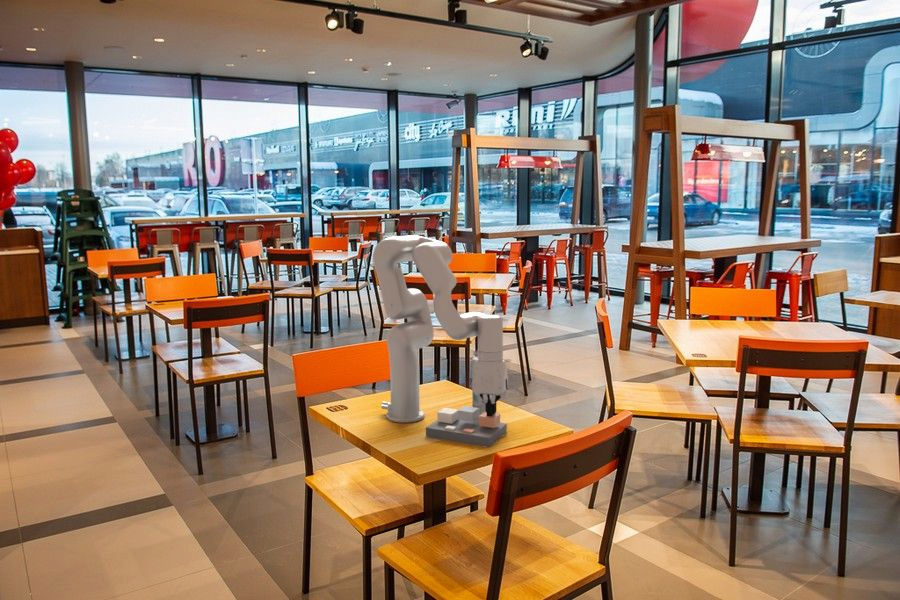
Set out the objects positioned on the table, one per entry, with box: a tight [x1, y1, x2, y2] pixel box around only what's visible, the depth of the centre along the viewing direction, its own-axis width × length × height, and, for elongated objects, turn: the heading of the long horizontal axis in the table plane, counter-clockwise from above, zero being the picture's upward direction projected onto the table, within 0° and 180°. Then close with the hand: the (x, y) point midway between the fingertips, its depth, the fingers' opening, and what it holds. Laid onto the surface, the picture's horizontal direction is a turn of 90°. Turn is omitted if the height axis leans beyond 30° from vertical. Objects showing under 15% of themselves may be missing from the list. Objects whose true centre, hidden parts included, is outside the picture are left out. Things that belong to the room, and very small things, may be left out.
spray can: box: [471, 356, 492, 419], centre depth 228 cm, size 6×6×20 cm
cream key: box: [436, 407, 459, 424], centre depth 216 cm, size 5×5×3 cm
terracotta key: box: [479, 412, 501, 428], centre depth 210 cm, size 5×5×3 cm
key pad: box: [425, 419, 508, 448], centre depth 212 cm, size 21×14×4 cm, turn 64°
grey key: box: [457, 405, 479, 422], centre depth 213 cm, size 5×5×3 cm
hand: (491, 414), depth 209 cm, fingers closed
